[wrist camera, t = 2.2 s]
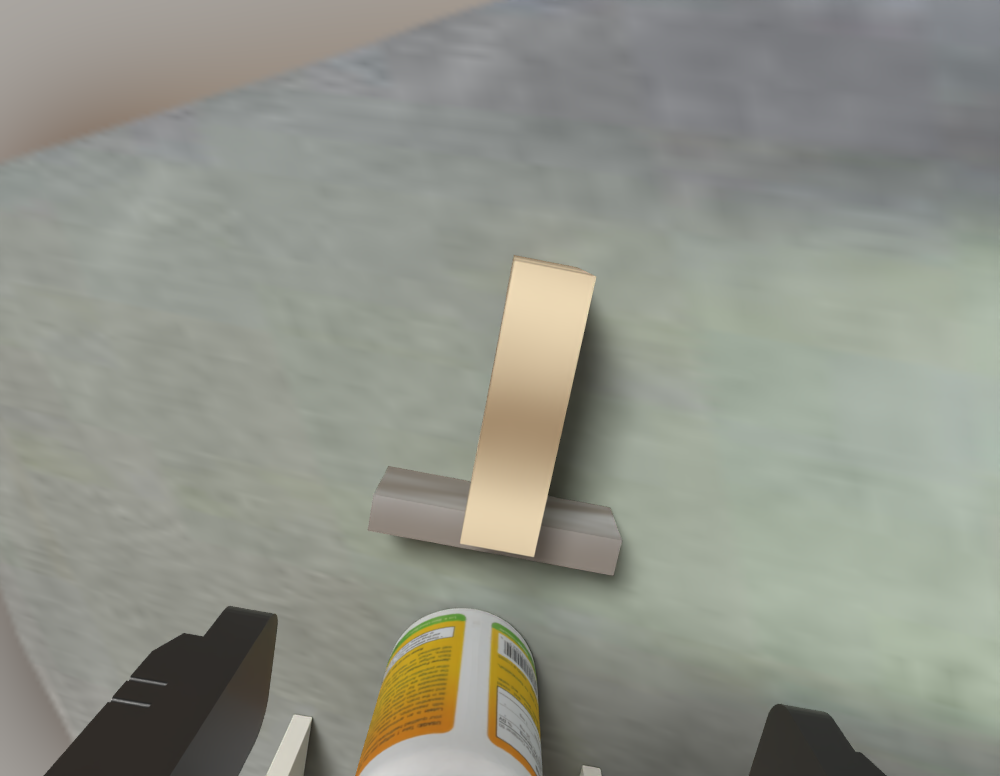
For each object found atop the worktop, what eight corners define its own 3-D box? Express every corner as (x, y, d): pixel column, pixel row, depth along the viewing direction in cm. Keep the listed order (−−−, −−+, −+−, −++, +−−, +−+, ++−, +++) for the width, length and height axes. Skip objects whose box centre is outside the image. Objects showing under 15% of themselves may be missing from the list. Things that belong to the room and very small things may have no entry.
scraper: (425, 237, 24) (401, 238, 19) (665, 284, 25) (707, 298, 19) (383, 498, 27) (351, 564, 21) (602, 538, 27) (624, 614, 22)
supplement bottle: (374, 713, 29) (289, 1008, 18) (408, 586, 27) (339, 820, 16) (514, 747, 29) (516, 1059, 18) (554, 624, 28) (583, 878, 17)
